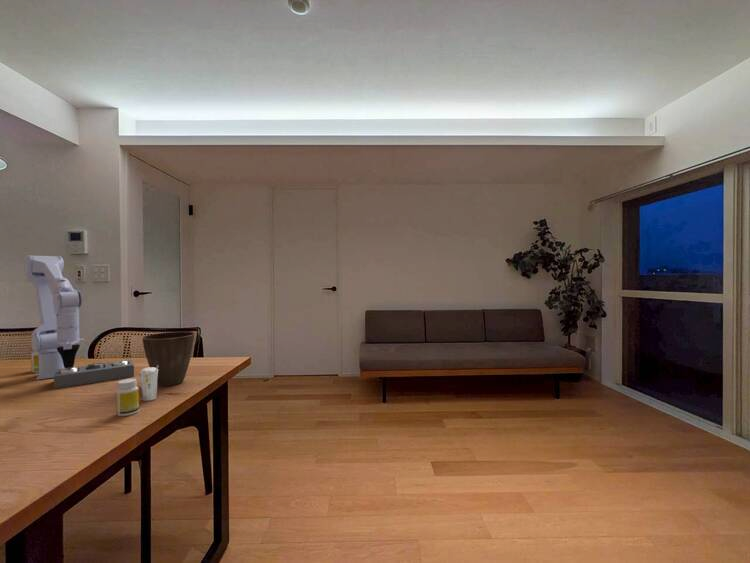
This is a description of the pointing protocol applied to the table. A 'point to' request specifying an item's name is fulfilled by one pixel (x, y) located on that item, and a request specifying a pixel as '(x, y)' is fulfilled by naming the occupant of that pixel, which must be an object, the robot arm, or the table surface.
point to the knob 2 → (120, 362)
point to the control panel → (93, 374)
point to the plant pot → (169, 355)
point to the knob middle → (95, 366)
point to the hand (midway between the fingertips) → (69, 367)
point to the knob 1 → (68, 370)
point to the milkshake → (149, 383)
